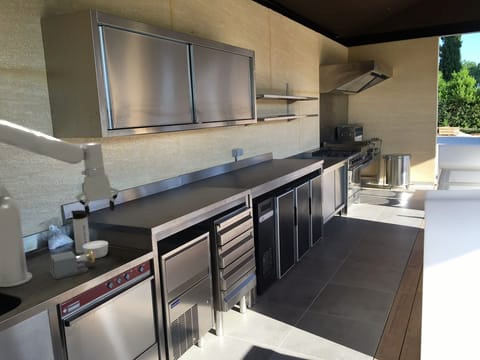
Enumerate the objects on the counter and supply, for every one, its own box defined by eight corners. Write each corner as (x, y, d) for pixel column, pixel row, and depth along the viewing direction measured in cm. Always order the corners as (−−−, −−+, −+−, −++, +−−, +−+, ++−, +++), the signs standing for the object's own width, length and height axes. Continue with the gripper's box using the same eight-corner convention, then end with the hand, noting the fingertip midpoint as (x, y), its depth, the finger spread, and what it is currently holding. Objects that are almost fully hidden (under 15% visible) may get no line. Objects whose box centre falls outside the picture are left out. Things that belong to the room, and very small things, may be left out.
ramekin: (92, 261, 181) (91, 249, 180) (78, 256, 187) (77, 245, 187) (114, 254, 190) (113, 242, 189) (99, 249, 196) (98, 239, 195)
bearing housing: (54, 279, 162) (52, 262, 161) (50, 272, 169) (48, 255, 168) (88, 271, 169) (86, 254, 168) (83, 265, 176) (81, 249, 175)
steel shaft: (66, 270, 166) (64, 258, 165) (63, 266, 170) (62, 254, 169) (95, 263, 172) (94, 252, 171) (92, 260, 176) (90, 248, 175)
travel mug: (76, 250, 195) (72, 209, 192) (91, 249, 197) (87, 208, 193) (74, 255, 189) (69, 212, 186) (89, 253, 190) (85, 211, 187)
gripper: (74, 176, 163) (80, 218, 166) (118, 170, 172) (123, 210, 175) (71, 174, 169) (77, 214, 172) (113, 168, 178) (118, 207, 181)
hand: (100, 212), depth 174 cm, fingers open, 9 cm apart
